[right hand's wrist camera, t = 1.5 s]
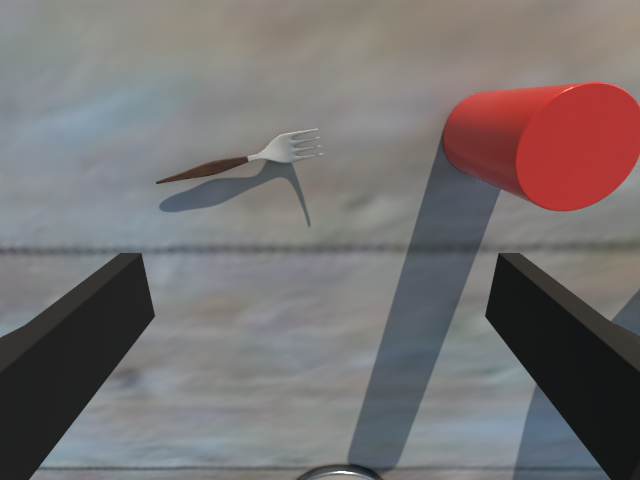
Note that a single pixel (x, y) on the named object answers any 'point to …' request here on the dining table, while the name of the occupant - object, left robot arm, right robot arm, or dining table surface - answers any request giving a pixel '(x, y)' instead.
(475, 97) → the can
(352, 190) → the dining table surface
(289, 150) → the fork
